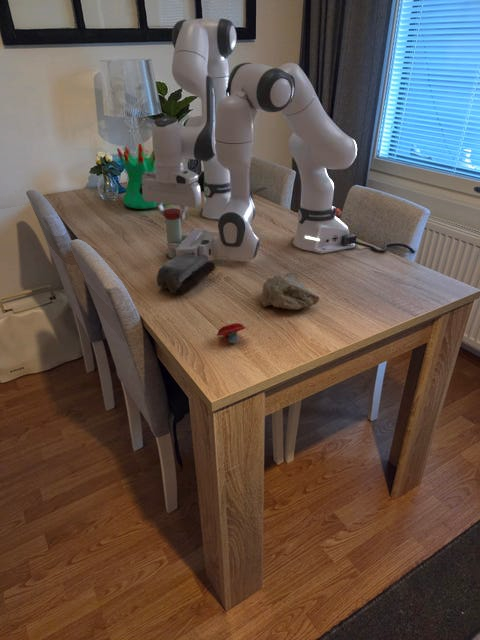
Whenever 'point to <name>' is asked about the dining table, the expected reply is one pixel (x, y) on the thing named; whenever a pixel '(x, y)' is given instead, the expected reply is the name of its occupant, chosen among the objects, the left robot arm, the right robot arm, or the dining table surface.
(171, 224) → the jar
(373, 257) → the dining table surface
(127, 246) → the dining table surface
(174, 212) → the lid
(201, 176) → the toy
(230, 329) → the red toy mushroom
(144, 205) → the toy
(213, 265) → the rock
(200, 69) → the left robot arm
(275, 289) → the rough grey stone
